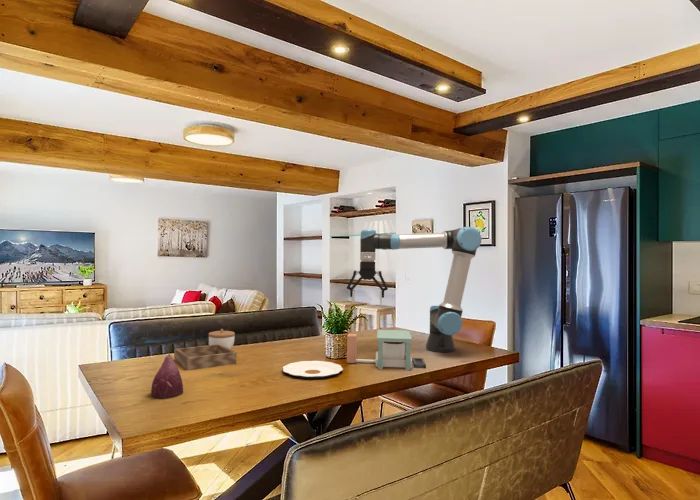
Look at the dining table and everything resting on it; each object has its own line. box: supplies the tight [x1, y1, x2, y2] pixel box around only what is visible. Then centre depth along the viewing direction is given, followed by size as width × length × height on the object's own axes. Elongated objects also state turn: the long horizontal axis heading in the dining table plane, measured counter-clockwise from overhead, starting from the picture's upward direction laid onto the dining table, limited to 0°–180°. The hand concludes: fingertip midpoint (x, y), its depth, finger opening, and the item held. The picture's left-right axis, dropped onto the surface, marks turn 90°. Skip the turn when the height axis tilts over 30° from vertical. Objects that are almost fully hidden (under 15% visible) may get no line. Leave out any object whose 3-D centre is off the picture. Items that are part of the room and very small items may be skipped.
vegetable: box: [150, 353, 184, 400], centre depth 160 cm, size 10×10×15 cm
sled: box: [346, 333, 413, 369], centre depth 208 cm, size 29×16×12 cm, turn 86°
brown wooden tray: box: [173, 344, 237, 371], centre depth 205 cm, size 21×21×5 cm
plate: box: [282, 360, 344, 379], centre depth 191 cm, size 25×25×2 cm
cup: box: [383, 342, 405, 360], centre depth 207 cm, size 10×10×10 cm
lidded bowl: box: [208, 328, 236, 350], centre depth 227 cm, size 13×13×11 cm
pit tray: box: [411, 357, 427, 369], centre depth 206 cm, size 5×12×2 cm, turn 176°
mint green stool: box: [376, 329, 413, 371], centre depth 207 cm, size 15×21×14 cm
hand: (366, 304), depth 225 cm, fingers open, 13 cm apart
